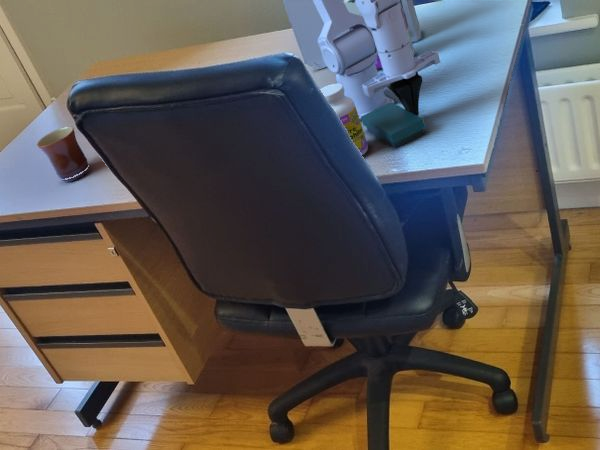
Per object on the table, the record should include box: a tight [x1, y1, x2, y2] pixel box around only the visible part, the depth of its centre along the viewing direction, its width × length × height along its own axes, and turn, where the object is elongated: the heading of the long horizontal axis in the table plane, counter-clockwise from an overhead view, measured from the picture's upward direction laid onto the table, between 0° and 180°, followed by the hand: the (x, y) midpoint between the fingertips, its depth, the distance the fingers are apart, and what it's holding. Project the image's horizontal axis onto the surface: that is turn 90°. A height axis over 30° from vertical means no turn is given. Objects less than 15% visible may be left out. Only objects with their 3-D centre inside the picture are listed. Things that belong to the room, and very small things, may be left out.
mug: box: [36, 126, 90, 183], centre depth 176 cm, size 12×9×10 cm
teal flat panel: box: [361, 102, 426, 149], centre depth 139 cm, size 12×6×3 cm, turn 22°
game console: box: [281, 0, 422, 70], centre depth 176 cm, size 6×27×20 cm, turn 83°
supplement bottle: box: [319, 83, 369, 156], centre depth 136 cm, size 7×7×13 cm
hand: (413, 115), depth 140 cm, fingers closed
